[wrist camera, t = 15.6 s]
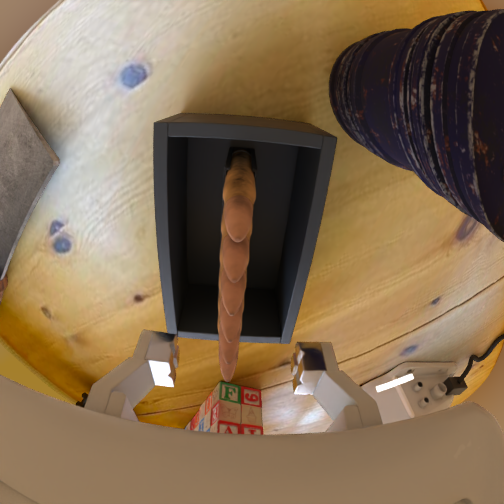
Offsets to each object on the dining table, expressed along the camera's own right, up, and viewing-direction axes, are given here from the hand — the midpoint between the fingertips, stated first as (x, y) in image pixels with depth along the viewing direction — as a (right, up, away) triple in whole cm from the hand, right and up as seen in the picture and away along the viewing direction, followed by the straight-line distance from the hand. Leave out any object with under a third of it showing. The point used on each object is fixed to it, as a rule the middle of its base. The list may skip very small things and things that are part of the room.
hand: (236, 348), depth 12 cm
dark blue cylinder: (+11, +16, +6) cm, 21 cm away
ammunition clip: (-1, +7, +11) cm, 13 cm away
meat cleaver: (-31, +6, +11) cm, 33 cm away
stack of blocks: (-5, -22, +29) cm, 37 cm away
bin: (0, +7, +11) cm, 13 cm away
